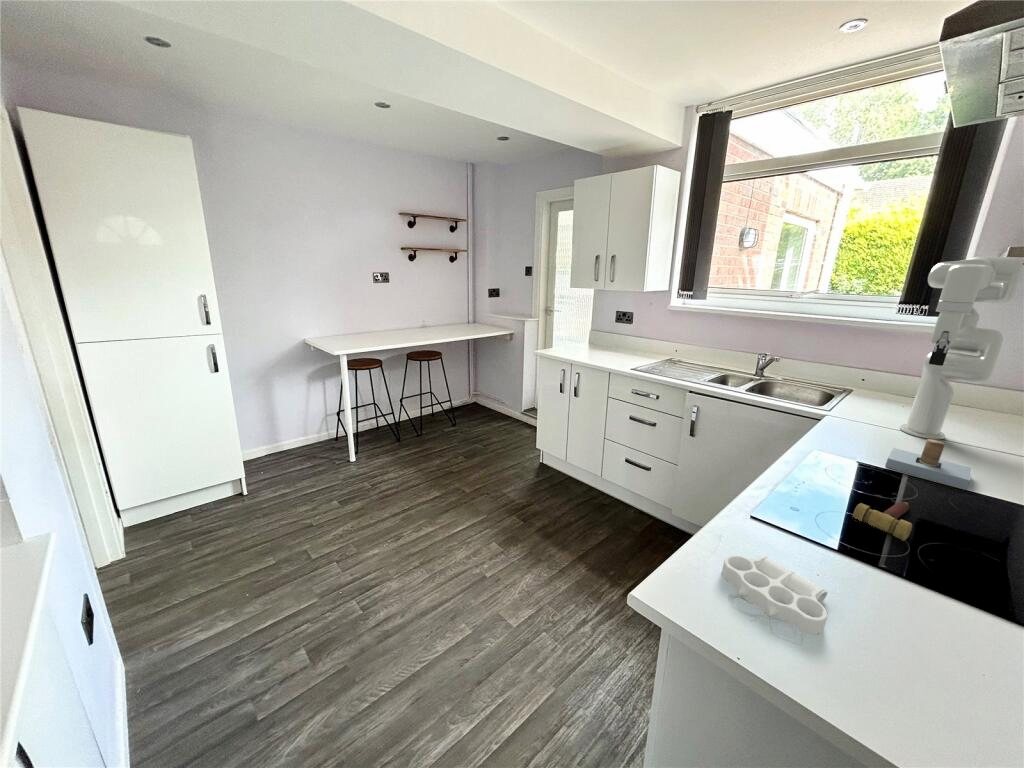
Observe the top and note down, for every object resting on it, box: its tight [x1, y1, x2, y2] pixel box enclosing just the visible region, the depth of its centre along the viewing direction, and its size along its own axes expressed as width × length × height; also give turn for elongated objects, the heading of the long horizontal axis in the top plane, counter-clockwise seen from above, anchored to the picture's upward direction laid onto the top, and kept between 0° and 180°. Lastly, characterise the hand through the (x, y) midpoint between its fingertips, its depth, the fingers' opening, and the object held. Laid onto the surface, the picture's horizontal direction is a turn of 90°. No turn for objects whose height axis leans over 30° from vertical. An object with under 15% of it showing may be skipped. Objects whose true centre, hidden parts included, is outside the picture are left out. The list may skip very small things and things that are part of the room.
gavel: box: [852, 501, 913, 542], centre depth 106 cm, size 21×5×10 cm
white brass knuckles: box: [721, 554, 828, 635], centre depth 81 cm, size 3×18×15 cm
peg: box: [919, 438, 946, 468], centre depth 130 cm, size 4×4×10 cm
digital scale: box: [885, 447, 972, 491], centre depth 131 cm, size 12×18×3 cm, turn 43°
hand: (936, 362), depth 133 cm, fingers open, 9 cm apart
